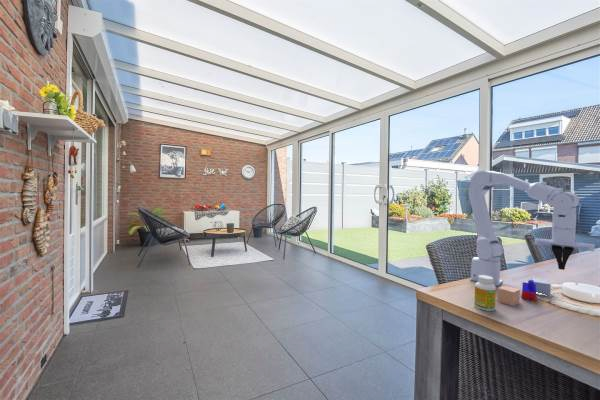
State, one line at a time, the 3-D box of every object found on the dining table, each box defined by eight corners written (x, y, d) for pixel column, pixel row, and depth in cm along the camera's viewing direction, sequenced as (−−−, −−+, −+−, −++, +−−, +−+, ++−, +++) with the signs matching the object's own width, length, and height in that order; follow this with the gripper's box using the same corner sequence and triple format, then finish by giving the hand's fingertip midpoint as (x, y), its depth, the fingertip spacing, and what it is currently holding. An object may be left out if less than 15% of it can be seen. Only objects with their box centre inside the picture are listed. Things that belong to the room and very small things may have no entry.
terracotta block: (497, 301, 94) (497, 288, 94) (503, 298, 96) (503, 285, 96) (513, 306, 90) (513, 292, 90) (519, 303, 93) (519, 289, 92)
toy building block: (521, 302, 97) (522, 284, 94) (522, 293, 100) (522, 275, 97) (535, 304, 95) (536, 286, 92) (535, 295, 98) (536, 278, 95)
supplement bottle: (488, 312, 85) (489, 280, 85) (470, 306, 90) (471, 275, 89) (498, 309, 87) (500, 278, 87) (480, 302, 92) (482, 273, 92)
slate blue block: (533, 294, 101) (533, 281, 100) (531, 290, 104) (531, 278, 104) (549, 297, 98) (550, 284, 98) (547, 292, 102) (547, 280, 102)
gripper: (533, 227, 97) (531, 266, 98) (594, 232, 86) (592, 276, 87) (536, 225, 102) (535, 262, 102) (595, 229, 91) (593, 272, 92)
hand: (561, 268), depth 95 cm, fingers closed
